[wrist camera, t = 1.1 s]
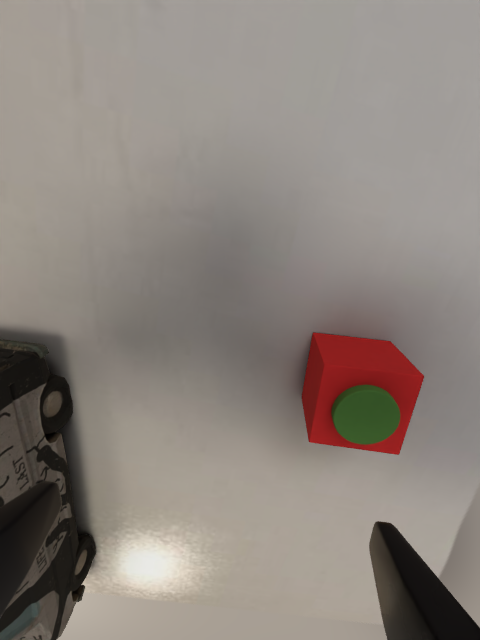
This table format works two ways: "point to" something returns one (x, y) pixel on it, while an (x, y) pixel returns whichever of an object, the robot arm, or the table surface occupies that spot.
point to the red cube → (358, 393)
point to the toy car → (25, 472)
